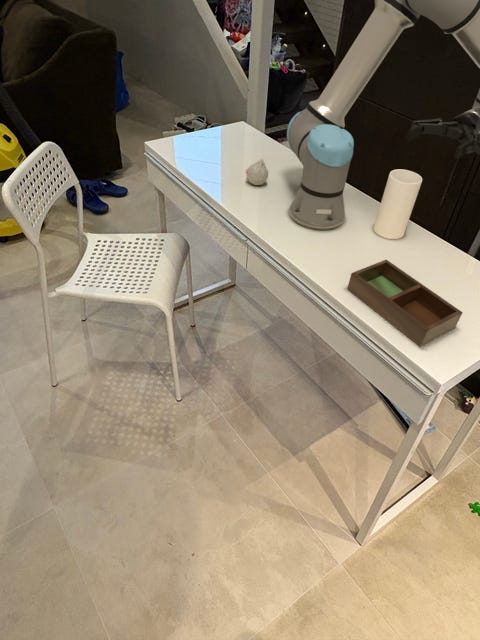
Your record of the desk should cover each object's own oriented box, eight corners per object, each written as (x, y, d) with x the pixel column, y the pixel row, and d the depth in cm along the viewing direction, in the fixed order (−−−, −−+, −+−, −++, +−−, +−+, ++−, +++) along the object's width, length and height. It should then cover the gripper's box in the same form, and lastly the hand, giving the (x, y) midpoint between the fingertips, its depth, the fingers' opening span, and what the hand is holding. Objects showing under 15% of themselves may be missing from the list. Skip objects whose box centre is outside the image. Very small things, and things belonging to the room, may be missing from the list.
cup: (398, 242, 130) (417, 187, 120) (369, 232, 133) (385, 177, 122) (407, 229, 136) (426, 175, 125) (378, 220, 139) (394, 166, 128)
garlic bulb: (246, 177, 153) (248, 152, 147) (268, 180, 152) (271, 155, 147) (243, 186, 148) (245, 161, 142) (265, 190, 147) (268, 164, 142)
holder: (381, 274, 119) (386, 259, 116) (455, 328, 106) (462, 312, 103) (346, 289, 113) (351, 273, 110) (420, 347, 100) (427, 330, 97)
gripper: (505, 153, 134) (472, 175, 122) (423, 125, 146) (386, 142, 134) (518, 126, 129) (484, 145, 117) (432, 99, 141) (393, 114, 129)
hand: (431, 144), depth 125 cm, fingers open, 13 cm apart
